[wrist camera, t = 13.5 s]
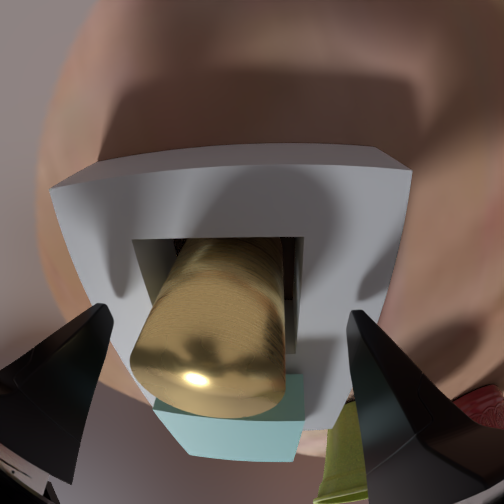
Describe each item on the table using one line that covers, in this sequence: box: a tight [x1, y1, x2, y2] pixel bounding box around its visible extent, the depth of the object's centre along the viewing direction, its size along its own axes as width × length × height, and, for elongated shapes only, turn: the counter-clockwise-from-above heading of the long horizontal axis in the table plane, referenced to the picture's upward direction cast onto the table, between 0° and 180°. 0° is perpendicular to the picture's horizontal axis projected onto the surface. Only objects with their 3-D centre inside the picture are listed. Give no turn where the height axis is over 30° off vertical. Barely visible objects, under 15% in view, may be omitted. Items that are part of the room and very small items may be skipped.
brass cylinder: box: [129, 237, 286, 418], centre depth 10 cm, size 4×4×7 cm
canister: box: [453, 385, 504, 429], centre depth 16 cm, size 13×13×18 cm
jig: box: [49, 143, 412, 431], centre depth 13 cm, size 12×17×4 cm
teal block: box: [153, 374, 305, 462], centre depth 13 cm, size 6×7×2 cm
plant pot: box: [313, 401, 368, 504], centre depth 17 cm, size 9×9×9 cm
